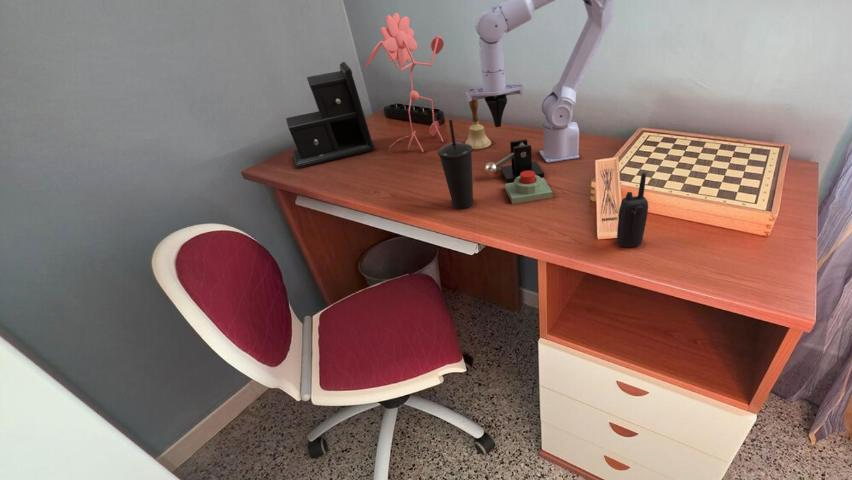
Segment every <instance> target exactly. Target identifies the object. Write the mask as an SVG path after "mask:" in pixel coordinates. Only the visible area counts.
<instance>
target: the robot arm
mask: <svg viewBox="0 0 852 480" xmlns="http://www.w3.org/2000/svg"><path fill="white" fill-rule="evenodd" d="M555 1H556V0H504V1H503V2H501V3H499V4H495V3H494V4H493V5H491V10H484V11H482V12H480V13H479V15H478V17H477V18H476V22H475V26H474V27H475V30H476V32H477V34H478V36H479V37H478V46H479V49H478V51H479V59H480V69H481V70H480V71H481V81H482V87H481V88H477V89H474V90H472V91H470V90H466V91H465V98H466V102H468V103H469V101H472V100H477V99H478V100H483V99H484V101H485V103H486V105H487V107H488V109H489V111H490V113H491V117H492V119H493V125H494V127H495V128H501V127H502V119H503V116H504V112H505V108H506V106H507V104H508V98H507V97H508V96H515V95H520V96H521V95H524V94H525V88H524V85H523V84H506V83H507V82H506V69H505V55H504V47H503V37H504V34H505V33H506V34H507V33H510V32H511V31H513V30H515V29H517V28H518V27H520V26H522V25H524V24H526V23H528V22H530V21H531V20H532V18H533V15H534V13H535V11H537V10H539V9H540V8H542V7H545V6H546V5H549V4H551V3H552V2H555ZM582 1H583V4H584V7H585V10H586V14H587V18H586V21H585V24H584V26H583V27H582V30H581V32H580V33H579V36H578V38H577V41H576V43H575V45H574V47H573V49H572V52H571V54H570V56H569V58H568V60H567V63H566V65H565V67H564V69H563V71H562V74H561V76H560V77H559V80H558V82H557V83H556V84H555V85H553V86H552V88H551V91H550V92H549V93H548V94H547V95H546V96H544V98H543V100H542V102H541V112H542V113H543V115H544V116H545V118H544V120H543V122H542V125H543V128H542V129H543V131H542V132H543V133H542V134H543V135H542V136H543V149H541V150H539V154H540V156H541V157H542V158H543V160H544V161H545V162H546V163H547V164H550V163H556V162H562V161H569V160H576V159H579V158H580V154H579V151H580V149H579V148H580V129H579V125H578V123H577V122H576V121H572V120H573V115H574V114H573V111H574V108H575V105H576V102H577V91H579V88H580V86H581V83H582V81H583V79H584V77H585V75H586V73H587V71H588V69H589V67H590V65H591V63H592V61H593V58H594V56H595V55H596V53H597V50H598V48H599V46H600V44H601V43H602V40H603V38H604V36H605V35H606V32H607V29H608V28H609V26H610V23H611V21H612V19H613V9H614V0H582Z"/></svg>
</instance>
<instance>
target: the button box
mask: <svg viewBox="0 0 852 480" xmlns="http://www.w3.org/2000/svg"><path fill="white" fill-rule="evenodd" d="M504 189H505V191H506V193H507V196H508V198H509V200H510V202H511V204H512V205H514V204H515V205H516V204H521V203H527V202H532V201H538V200H545V199H550V198H553V197H554V196H553V193H554V192H553V191H552V189H551V187H550V185H549V184H548V182H547V181H546V179H545V177H544V178H540V177H539V176H537V175H535V183H533V184H522V183H521V182H520V176H519V177H516V179H515V180H514V182H512V183H505V184H504Z"/></svg>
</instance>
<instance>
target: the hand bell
mask: <svg viewBox="0 0 852 480" xmlns="http://www.w3.org/2000/svg"><path fill="white" fill-rule="evenodd" d="M472 90H475V88H471V89H469V91H472ZM468 105H469V108H470V111H471V115H472V124H471V125H469V127H468V137H467V139H466V140H465V142H464V143H465V144H469V145H471V146H472V150H483V149H487V148H489V147H490V146H492V141H491V140H490V139H489V138H488V136H487V133H486V131H485V127H484V125H482V124H480V122H479V115H478V108H479V99H477V100H472V101H469V102H468Z"/></svg>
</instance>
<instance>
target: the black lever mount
mask: <svg viewBox="0 0 852 480" xmlns="http://www.w3.org/2000/svg"><path fill="white" fill-rule="evenodd" d="M522 142H523V144H524V146H517V145H519V144H520V143H522ZM509 146H510V154H511V153H513V152H514V158H513V159H511V160H510V161H511V164H510V165H502V166H501V167H499V169H500V172H501V174H502V176H503V178H504V180H505V184H508V183H514V180H515V179H516V177H519V176H520V173H521V172H523V171H533V172H535V175H537V176H539V177H540V178H544V179H545V172H544V171H543V170H542V168H541V166H540V164H539V163H538V161H533V160H532V159H533V157H532V145H531V144H528V139H527V138H524V139H517V140H510V141H509ZM516 146H517V147H516Z"/></svg>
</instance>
